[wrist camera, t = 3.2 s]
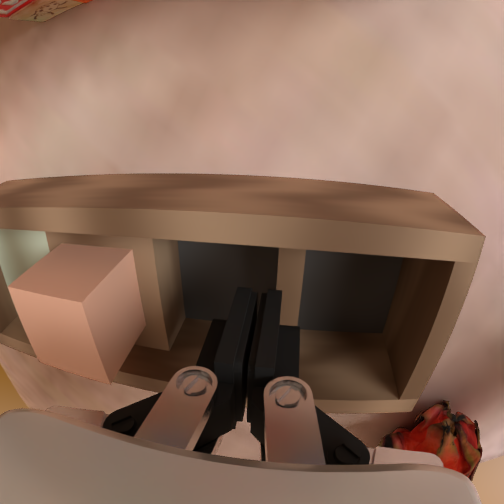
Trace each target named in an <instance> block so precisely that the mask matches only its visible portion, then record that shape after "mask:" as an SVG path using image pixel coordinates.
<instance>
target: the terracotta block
mask: <svg viewBox="0 0 504 504" xmlns="http://www.w3.org/2000/svg"><path fill="white" fill-rule="evenodd" d="M8 289H9V292H10V295H11V298H12V300H13V303H14V305H15V308H16V311H17V313H18V316H19V318H20V320H21V323H22V325H23V328H24V330H25V332H26V334H27V337H28V339H29V341H30V343H31V346H32V348H33V350H34V352H35V354H36V356H37V358H38V360H39V362H41V363H44V364H47V365H49V366H52V367H55V368H58V369H61V370H64V371H67V372H70V373H73V374H76V375H79V376H82V377H86V378H89V379H92V380H96V381H99V382H103V383H106V384H110V385H111V383H112V381H113V380H114V378H115V376H116V375H117V373H118V371H119V369H120V368H121V366H122V364H123V363H124V361H125V359H126V358H127V356H128V354H129V352H130V351H131V349H132V347H133V346H134V344H135V342H136V341H137V339H138V337H139V336H140V334H141V333H142V331H143V329H144V328H145V326H146V322H145V317H144V312H143V307H142V302H141V297H140V291H139V286H138V280H137V275H136V269H135V262H134V256H133V250H132V249H123V248H111V247H100V246H88V245H76V244H65V243H61V244H60V245H59V246H57V247H56V248H55V249H53V250H52V251H51V252H49V253H48V254H47V255H46V256H44V257H43V258H42V259H40V260H39V261H38V262H37V263H35V264H34V265H33V266H32V267H30V268H29V269H28V270H27V271H26V272H24V273H23V274H22V275H21V276H19V277H18V278H17V279H16V280H15V281H13V282H12V283H11V284H10V285H9V286H8Z"/></svg>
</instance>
